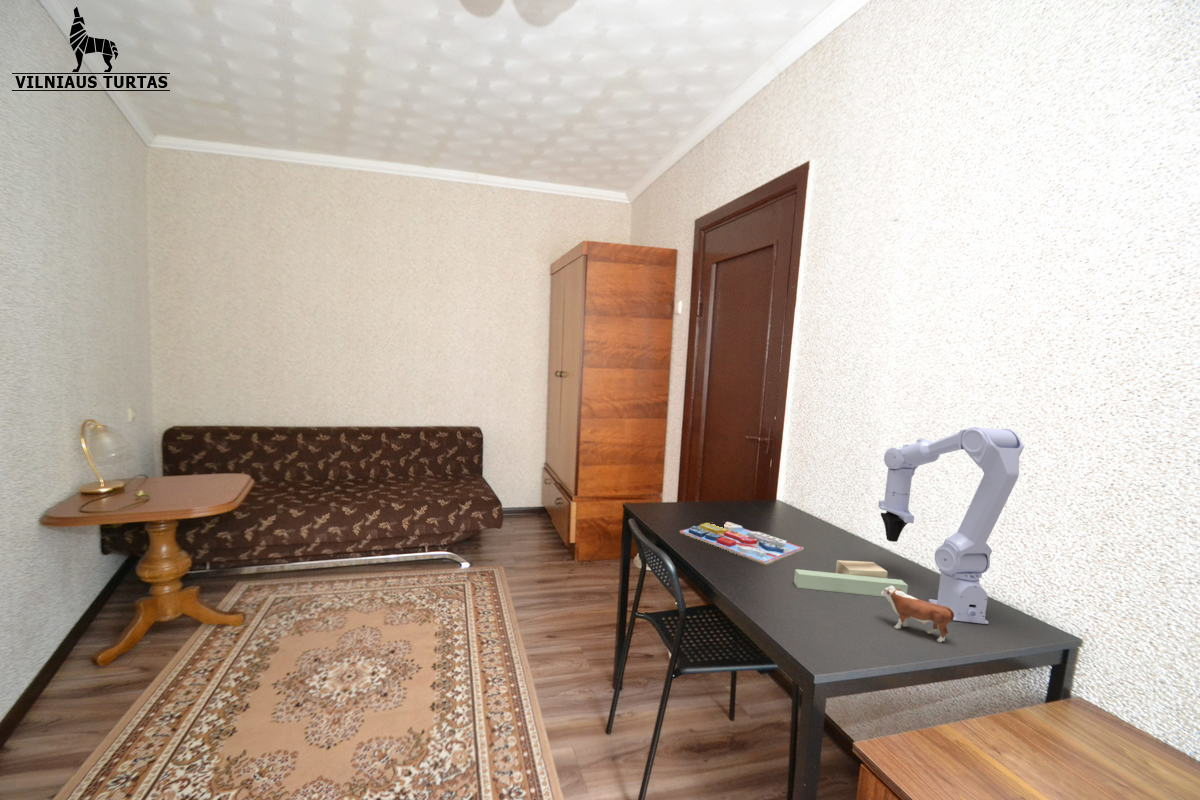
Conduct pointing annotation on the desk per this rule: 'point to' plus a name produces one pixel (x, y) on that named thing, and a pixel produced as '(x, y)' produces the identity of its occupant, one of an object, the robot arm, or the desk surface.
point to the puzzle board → (744, 542)
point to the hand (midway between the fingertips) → (891, 540)
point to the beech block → (860, 569)
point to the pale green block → (845, 582)
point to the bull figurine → (918, 611)
